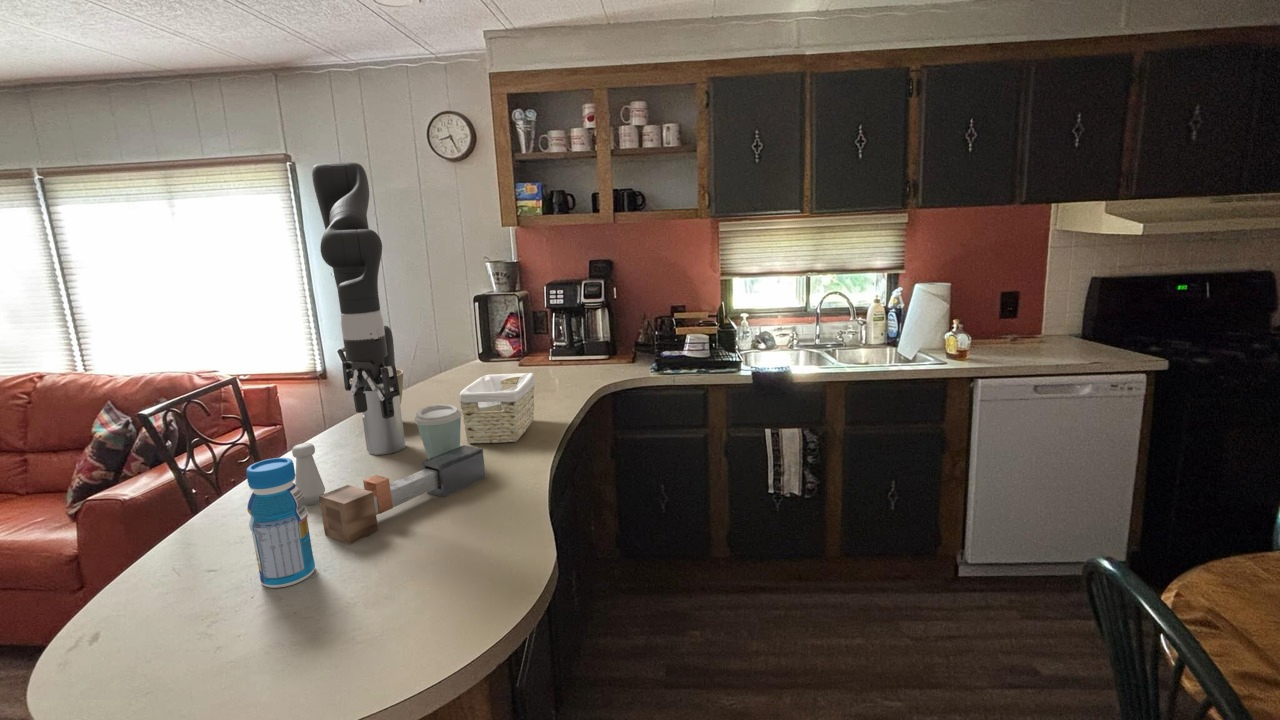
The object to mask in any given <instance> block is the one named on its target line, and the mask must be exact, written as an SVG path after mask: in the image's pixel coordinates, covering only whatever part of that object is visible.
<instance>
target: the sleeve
mask: <svg viewBox="0 0 1280 720" xmlns="http://www.w3.org/2000/svg"><path fill="white" fill-rule="evenodd" d="M421 465H422V470H424V469H426V468H429V467H432V468H436V469H439V473H440V482H441V486H440V487H438V488H436V489H433V490H431V491H429V492H427V493H426V494H431V495H433V496H434V495H435V496H438V497H443V498H446V497H449V496H451V495H452V494H455V493H457V492H459V491H461V490H464V489H465V488H468V487H470V486H472V485H474V484H477V483H478V482H481V481H483V480H485V479H486V467H485V466H486V465H485V458H484V449H483V448H480V447H476V446H475V447H474V446H470V445H464V444H463V445H460V447H458V448H455V449H453V450H450V451H448V452H445V453H443V454H440V455H438V456H435V457H433V458H430V459H428V458H427V459H426V460H423V461H421Z"/></svg>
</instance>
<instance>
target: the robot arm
mask: <svg viewBox="0 0 1280 720" xmlns="http://www.w3.org/2000/svg"><path fill="white" fill-rule="evenodd" d="M311 173H312V174H311V177H312V185H313V187H314V188H313V189H314V193H315V196H316V199H317V203H318V207H319V210H320V211H319V212H320V214H321V217H322V218H321V219H322V223H323V225H324V228H325V229H324V232H323V234H322V238H321V239H320V240H321V241H320V247H319V248H320V249H319V250H320V254H321V257H322V260H323V261H324V263H325V264H326V265H328V266H330V268H332V271H333V277H334V281H335V284H336V288H337V295H338V302H339V303H338V304H339V309H340V319H341V320H340V321H341V323H340V325H341V333H342V341H343V345H344V346H343V347H344V354H345V360H346V361H344V362H342V363H341V366H342V367H341V368H342V374H343V375H342V376H343V384H344V390H345V391H346V392H350V394H351V395H352V396H353V401H354V408H355V412H356V413H359V414H361V413H362V412H363V413H364V415H362V422H363V423H362V425H363V431H364V437H365V445H366V450H367V451H368V453H369V454H371V455H377V456H378V455H379V456H380V455H382V456H383V455H389V454H394V453H397V452H400V451H402V450H403V449H405V448H406V440H405V431H404V423H403V422H404V421H403V416H402V415H403V414H402V409H401V406H400V399H399V395H400V391H399V385H398V379H397V373H396V369H397V368H396V363H395V361H396V360H395V346H394V345H395V344H394V337H393V332H392V330H391V328H390V327H389V326H387V325H384V319H383V317H382V316H383V315H382V312H381V304H380V298H379V287H378V285H379V283H378V282H379V281H378V280H379V271H380V265H381V260H382V255H383V253H382V252H383V242H382V240H381V237H380V236H379V234H378V233H377V232H376V231H375V230H372V229H371V228H369V222H368V216H367V214H368V209H369V201H370V186H369V179H368V176H367V172H366V169H365V168H364V167H363V165H362V164H360V163H358V162H350V161H347V162H326V163H318V164H315V165H313V167H312V171H311ZM351 378H353V379H352V382H351V381H350V379H351ZM363 413H362V414H363Z"/></svg>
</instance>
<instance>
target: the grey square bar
mask: <svg viewBox="0 0 1280 720" xmlns="http://www.w3.org/2000/svg"><path fill="white" fill-rule="evenodd" d="M440 486H441V482H440V473H439V469H436V468H432V467H429V468H426V469H424V470H423V469H422V470H421V469H420V470H419V471H417V472H415V473H412V474H409V475H407V476H405V477H402V478H400V479H397V480H395V481H393V482H390V478H389V477H384V476H380V475H377V474H375V475H374V476H371V477H369V478H366V479H363V488H364V490H368V491H371V492H373V496H374V503H375V510H376V516H377V515H380V514H383V513H385V512H388V511H390V510H392V509H394V508H396V507H397V506H400V505H402V504H405V503H406V502H409V501H411V500H413V499H416V498H417V497H419V496H422V495H424V494H428V493H427V492H429V491H431V490H433V489H436V488H438V487H440Z"/></svg>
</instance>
